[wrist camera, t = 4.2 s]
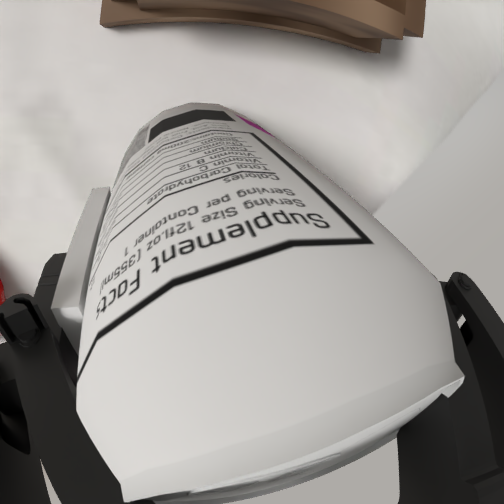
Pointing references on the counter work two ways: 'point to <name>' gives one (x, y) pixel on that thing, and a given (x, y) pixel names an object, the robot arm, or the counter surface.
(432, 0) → the counter surface
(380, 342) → the supplement can
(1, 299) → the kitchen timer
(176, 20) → the brown square open box
